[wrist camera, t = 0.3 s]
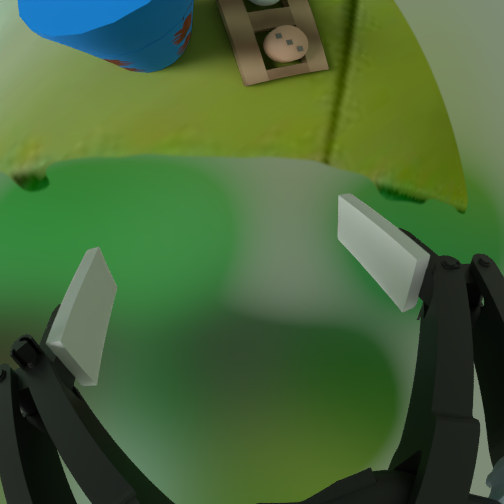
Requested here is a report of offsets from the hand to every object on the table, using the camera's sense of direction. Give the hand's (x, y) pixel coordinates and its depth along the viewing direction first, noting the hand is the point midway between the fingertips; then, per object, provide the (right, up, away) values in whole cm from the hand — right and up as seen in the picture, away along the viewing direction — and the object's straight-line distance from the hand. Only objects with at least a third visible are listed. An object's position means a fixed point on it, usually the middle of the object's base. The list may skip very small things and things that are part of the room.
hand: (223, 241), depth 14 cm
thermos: (-12, +28, +12) cm, 32 cm away
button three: (+5, +26, +14) cm, 30 cm away
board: (+2, +34, +11) cm, 36 cm away
